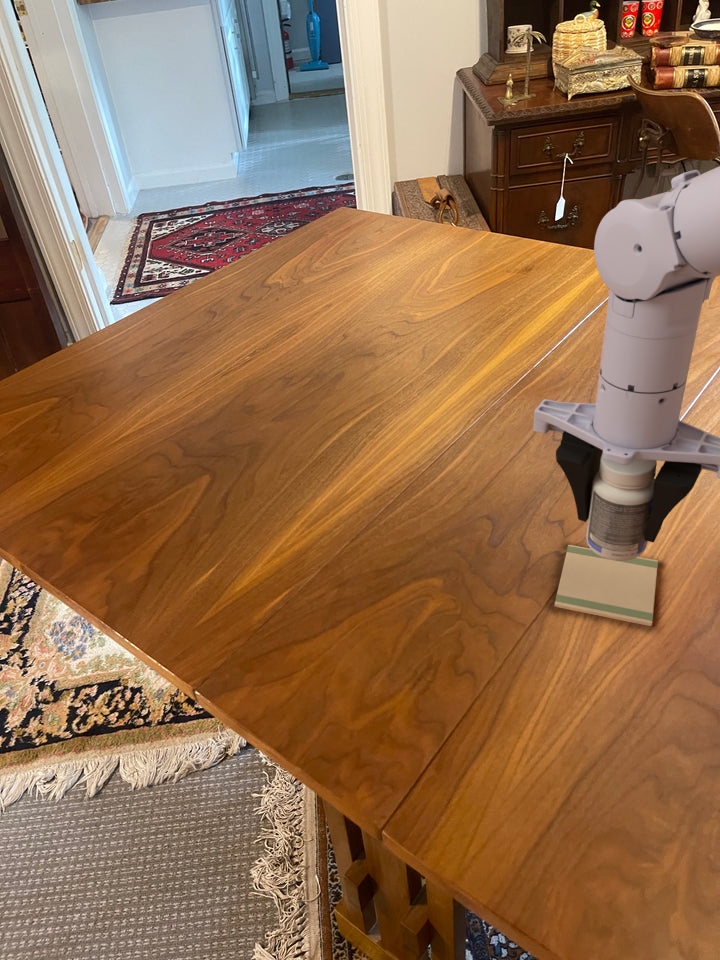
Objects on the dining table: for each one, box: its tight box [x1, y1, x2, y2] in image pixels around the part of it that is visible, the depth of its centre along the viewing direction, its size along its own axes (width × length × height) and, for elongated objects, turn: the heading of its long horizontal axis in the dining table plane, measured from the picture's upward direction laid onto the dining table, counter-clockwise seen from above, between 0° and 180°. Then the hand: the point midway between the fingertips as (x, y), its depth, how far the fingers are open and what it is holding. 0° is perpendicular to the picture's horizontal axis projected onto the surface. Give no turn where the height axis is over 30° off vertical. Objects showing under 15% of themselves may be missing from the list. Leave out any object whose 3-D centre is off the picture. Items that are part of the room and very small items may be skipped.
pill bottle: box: [585, 456, 658, 561], centre depth 57 cm, size 5×5×8 cm
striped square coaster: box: [554, 544, 659, 627], centre depth 66 cm, size 8×8×1 cm
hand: (618, 523), depth 59 cm, fingers closed on pill bottle, 5 cm apart
